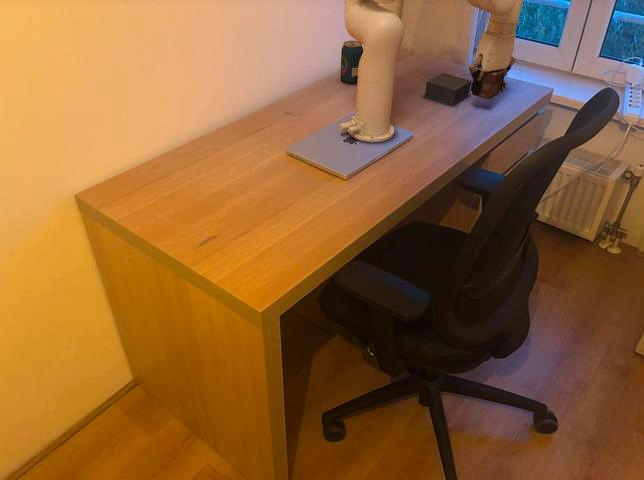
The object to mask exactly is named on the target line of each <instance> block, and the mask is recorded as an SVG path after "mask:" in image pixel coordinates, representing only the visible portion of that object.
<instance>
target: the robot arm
mask: <svg viewBox="0 0 644 480" xmlns="http://www.w3.org/2000/svg"><path fill="white" fill-rule="evenodd" d="M394 2H396V0H344V15H343V16H344V17H343V18H344V19H343V20H344V26H345V27H344V28H345V29H346V32H347V34H348V35H349V36H350V37H351V38H352V39H354V41H358V42H360V43H362V46H363V54H362V56H361V59H360V62H359V67H358V83H357V84H356V97H355V98H356V99H355V100H356V101H355V111H354V112H355V114H354V115H351V119H350V120H348V121H346V122H342V123H341V122H340V123H339V124H338V129H339V131H340V132H342V131H347V133H348V134H349V135H350V136H351V137H353V139H356V140H358V141H361V142H366V143H382V142H385V141H388V140H391V139H392V138H393V137H394V136H395V127H394V126H393V124H391V116H392V115H391V114H392V107H393V97H394V88H395V81H396V80H395V79H396V72H397V63H398V57H399V53H400V50H401V47H402V43H403V40H404V35H405V34H404V33H405V30H404V25H403V21H402V20H401V18H400V17H399V16H398V15H397V14H396V13H395V12H394V11H392V10H391V9H388V8H386V7H385V6H382V5H390V4H392V3H394ZM466 2H467V3H468V4H469V5H471V6H472V7H474V8H476V9H479V10H482V11H485V12H487V13H489V17H488V22H487V27H486V30H485V31H483V33H482V35H481V38H480V40H479V42H478V46H477V49H476V52H475V55H474V59H473V61H472V62H471V63H470V64H469V65H468V70H469V73H470V75H471V78H472V82H471V87H470V92H471V93H472V92H473V93H475V94H479V93H480V89H481V85H482V81H481V79H482V77H483V76H484V74H485V73H486V72H489V71H495V70H504V75H503V79H502V83H501V87H500V90H499V91H502V90H501V89H502V85H503V81H504V80H505V77H507V75H508V72H509V71H510V70H511V69H512V67H513V65H514V64H515V63H516V60H517V59H516V58H515V57H514V56H513V54H514V48H515V42H516V30H517V26H518V25H519V18H520V14H521V10H522V7H523V3H524V0H466ZM380 4H381V5H380ZM479 71H481V73H480V74H478V73H479Z"/></svg>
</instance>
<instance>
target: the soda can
mask: <svg viewBox="0 0 644 480" xmlns="http://www.w3.org/2000/svg"><path fill="white" fill-rule="evenodd" d="M340 50H341V51H340V53H341V56H340V72H339V73H340V74H339V79H340V80H341V82H342V83H343V84H344V85H348V86H354V85H357V83H358V67H359V62H360V59H361V56H362V54H363V51H364V46H363V44H362V43H360V42H359V41H357V40H346V41H345V42H343V45H342V46H341V49H340Z"/></svg>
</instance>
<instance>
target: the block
mask: <svg viewBox="0 0 644 480" xmlns="http://www.w3.org/2000/svg"><path fill="white" fill-rule="evenodd" d="M472 82H473V80H471V79H467V78H464V77H460V76H456V75H454V74H450V73H446V72H441V73H440V74H438V75H436V76H433V78H431V79H429V80H427V81H426V84H425V91H424V99H428V100H431V101H433V102H434V101H436V102H439V103H441V104H444V105H446V106H451V107H455V106H456V105H457V104H460V103H461V102H462V101H464V100H465V99H467V98H469V96H470V92H471V87H472Z"/></svg>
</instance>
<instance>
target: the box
mask: <svg viewBox="0 0 644 480" xmlns="http://www.w3.org/2000/svg"><path fill="white" fill-rule="evenodd" d="M480 73H481V71H479V73H478V74H480ZM503 75H504V70H495V71H489V72H486V73H485V74H484V76H483V77H482V79H481V81H482V85H481V89H480V93H479V94H475V93H473V92H472V91H471V96H473V97H477V98H482V99H484V100H487V101H490V100H492V99H494V98H495V97H497V96H498V95H499V94H500V91H501V90H500V87H501V83H502V79H503Z"/></svg>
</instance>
